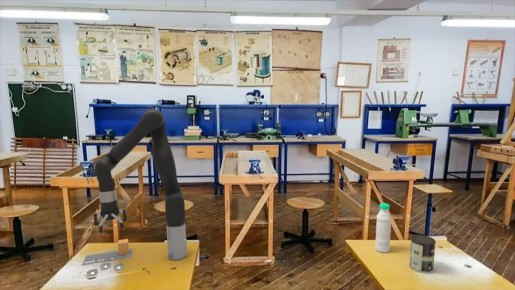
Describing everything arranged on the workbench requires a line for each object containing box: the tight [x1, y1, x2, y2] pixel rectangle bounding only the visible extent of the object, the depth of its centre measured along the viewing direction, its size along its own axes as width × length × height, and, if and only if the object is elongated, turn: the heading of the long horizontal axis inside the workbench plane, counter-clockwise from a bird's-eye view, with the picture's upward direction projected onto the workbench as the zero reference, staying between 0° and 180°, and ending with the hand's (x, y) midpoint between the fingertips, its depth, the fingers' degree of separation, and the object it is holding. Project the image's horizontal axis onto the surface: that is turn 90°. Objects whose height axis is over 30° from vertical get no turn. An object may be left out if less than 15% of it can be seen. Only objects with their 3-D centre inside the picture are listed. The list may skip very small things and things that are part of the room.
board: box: [81, 248, 133, 266], centre depth 156 cm, size 22×10×1 cm, turn 109°
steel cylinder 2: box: [100, 262, 112, 271], centre depth 146 cm, size 4×4×2 cm
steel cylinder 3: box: [113, 263, 125, 272], centre depth 145 cm, size 4×4×2 cm
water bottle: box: [374, 202, 392, 254], centre depth 161 cm, size 7×7×25 cm
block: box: [117, 238, 130, 255], centre depth 160 cm, size 4×4×6 cm
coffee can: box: [408, 234, 437, 274], centre depth 144 cm, size 10×10×14 cm
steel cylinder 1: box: [86, 268, 99, 280], centre depth 141 cm, size 4×4×2 cm
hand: (112, 231), depth 151 cm, fingers open, 8 cm apart
